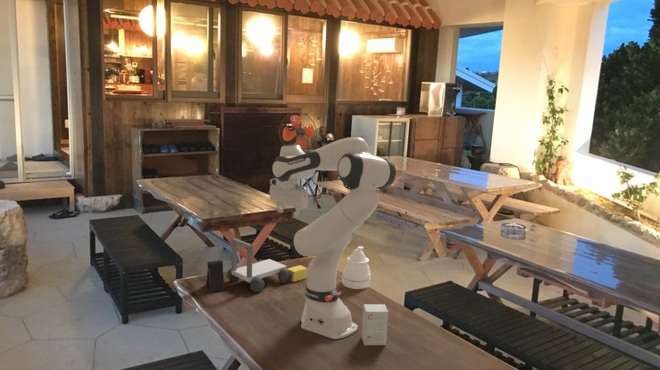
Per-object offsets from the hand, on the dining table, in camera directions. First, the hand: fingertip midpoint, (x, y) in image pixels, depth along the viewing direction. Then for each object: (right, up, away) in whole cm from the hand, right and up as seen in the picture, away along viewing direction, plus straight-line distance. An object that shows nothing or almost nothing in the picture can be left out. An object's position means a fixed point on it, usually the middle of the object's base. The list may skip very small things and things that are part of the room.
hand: (288, 214), depth 227 cm
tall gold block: (+2, -31, +22) cm, 38 cm away
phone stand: (-32, -32, +6) cm, 46 cm away
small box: (+33, -44, -33) cm, 64 cm away
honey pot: (+30, -33, +19) cm, 48 cm away
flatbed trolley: (-14, -31, +15) cm, 37 cm away
